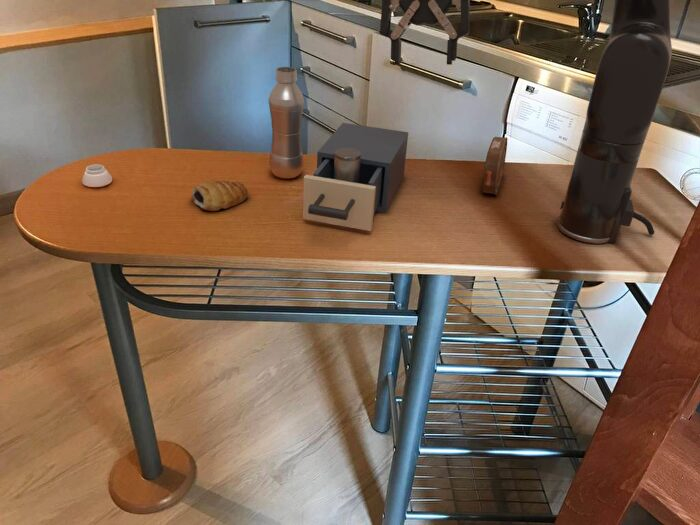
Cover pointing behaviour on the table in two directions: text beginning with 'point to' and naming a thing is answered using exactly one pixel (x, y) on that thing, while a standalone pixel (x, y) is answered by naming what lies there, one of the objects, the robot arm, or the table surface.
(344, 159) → the steel cylinder
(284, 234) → the table surface
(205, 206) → the pastry
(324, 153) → the cabinet
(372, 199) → the drawer
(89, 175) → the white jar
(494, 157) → the tin
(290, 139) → the metallic bottle
